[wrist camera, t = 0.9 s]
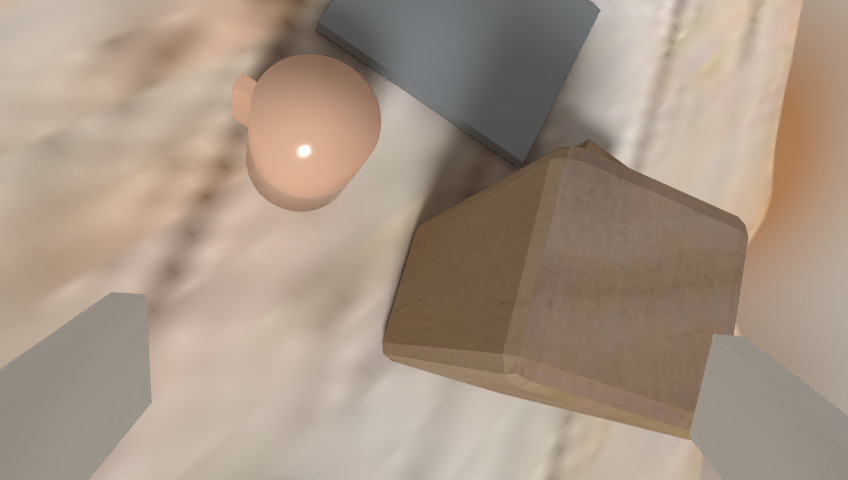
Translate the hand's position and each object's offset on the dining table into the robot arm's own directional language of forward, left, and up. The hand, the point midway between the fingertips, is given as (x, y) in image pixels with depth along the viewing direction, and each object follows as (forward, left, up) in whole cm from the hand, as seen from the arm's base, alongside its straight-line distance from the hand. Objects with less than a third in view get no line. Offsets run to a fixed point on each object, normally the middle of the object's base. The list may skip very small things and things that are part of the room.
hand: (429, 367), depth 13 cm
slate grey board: (-1, +27, -26) cm, 37 cm away
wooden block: (+9, +7, -26) cm, 28 cm away
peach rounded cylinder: (-6, +10, -26) cm, 28 cm away
